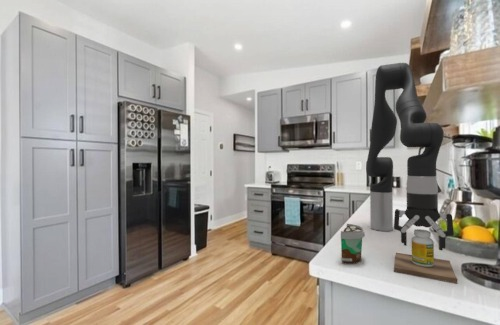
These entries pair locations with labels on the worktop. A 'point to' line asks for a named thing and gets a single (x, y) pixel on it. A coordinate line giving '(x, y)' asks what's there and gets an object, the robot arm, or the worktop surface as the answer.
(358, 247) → the food container
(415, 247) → the supplement bottle
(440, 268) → the walnut cutting board
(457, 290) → the worktop surface
